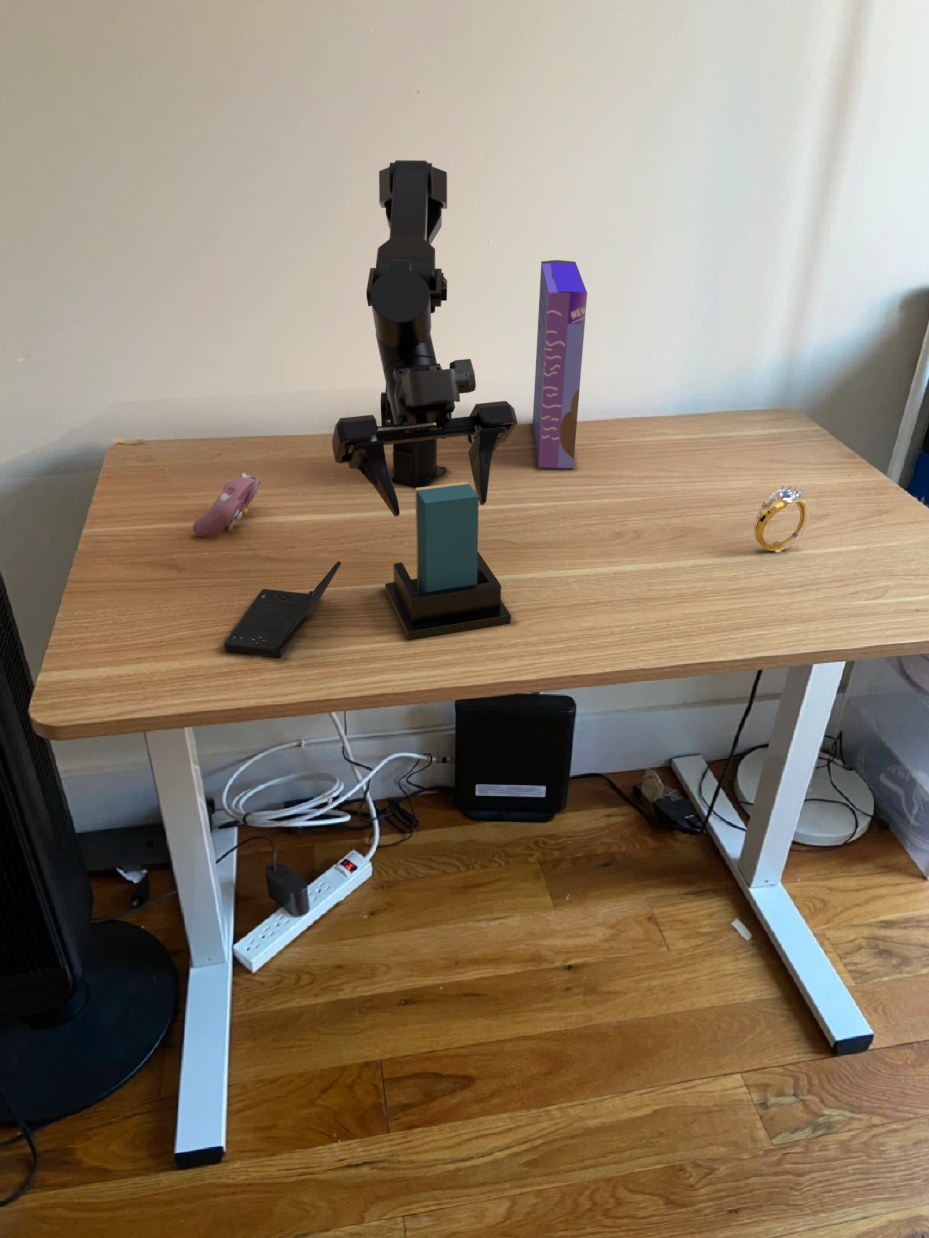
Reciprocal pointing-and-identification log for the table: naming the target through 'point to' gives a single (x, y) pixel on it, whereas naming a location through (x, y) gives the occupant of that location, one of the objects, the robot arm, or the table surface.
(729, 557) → the table surface
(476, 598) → the black square holder
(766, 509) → the ring
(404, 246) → the robot arm
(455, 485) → the teal rectangular block
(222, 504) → the video game controller
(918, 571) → the table surface
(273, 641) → the handheld gaming console
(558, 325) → the cereal box
